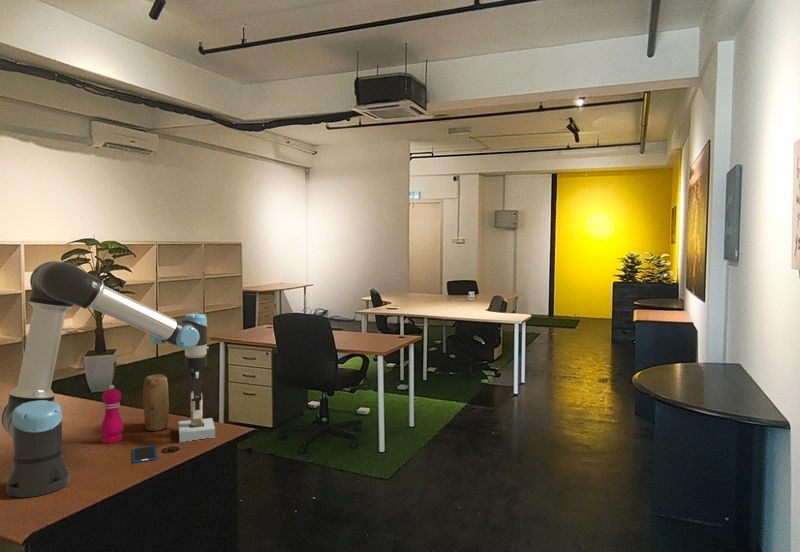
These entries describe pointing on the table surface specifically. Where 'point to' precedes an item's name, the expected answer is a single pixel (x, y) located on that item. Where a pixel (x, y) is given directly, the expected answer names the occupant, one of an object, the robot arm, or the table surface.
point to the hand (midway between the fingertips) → (196, 413)
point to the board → (196, 430)
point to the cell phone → (144, 454)
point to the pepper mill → (111, 416)
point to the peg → (193, 421)
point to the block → (156, 402)
